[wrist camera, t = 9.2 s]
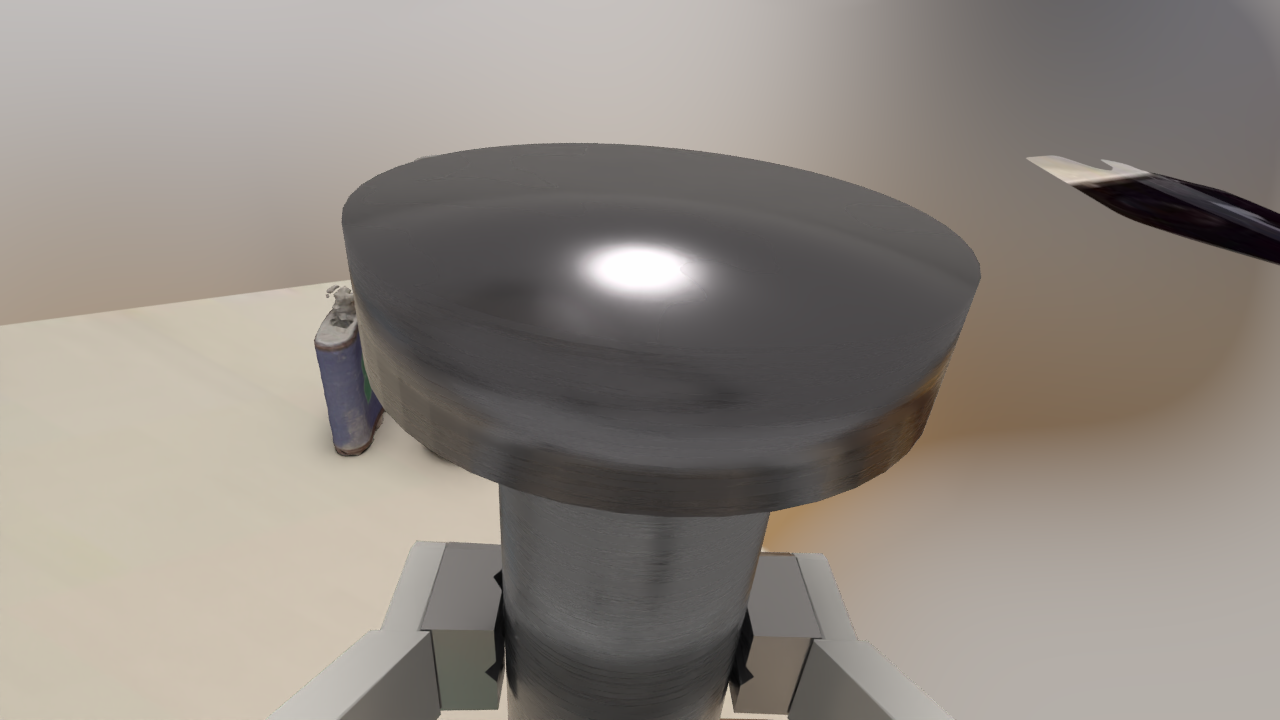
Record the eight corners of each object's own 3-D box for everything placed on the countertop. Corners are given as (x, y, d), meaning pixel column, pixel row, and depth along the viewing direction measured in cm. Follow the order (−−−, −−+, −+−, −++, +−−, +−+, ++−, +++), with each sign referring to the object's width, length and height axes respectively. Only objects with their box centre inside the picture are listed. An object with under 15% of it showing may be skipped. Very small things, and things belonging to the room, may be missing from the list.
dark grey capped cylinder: (422, 1092, 11) (178, 318, 4) (483, 746, 16) (436, 129, 9) (752, 1083, 12) (1159, 372, 4) (710, 748, 17) (852, 161, 9)
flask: (365, 458, 44) (341, 319, 38) (322, 456, 43) (291, 317, 38) (402, 386, 52) (386, 264, 46) (365, 385, 51) (345, 261, 46)
